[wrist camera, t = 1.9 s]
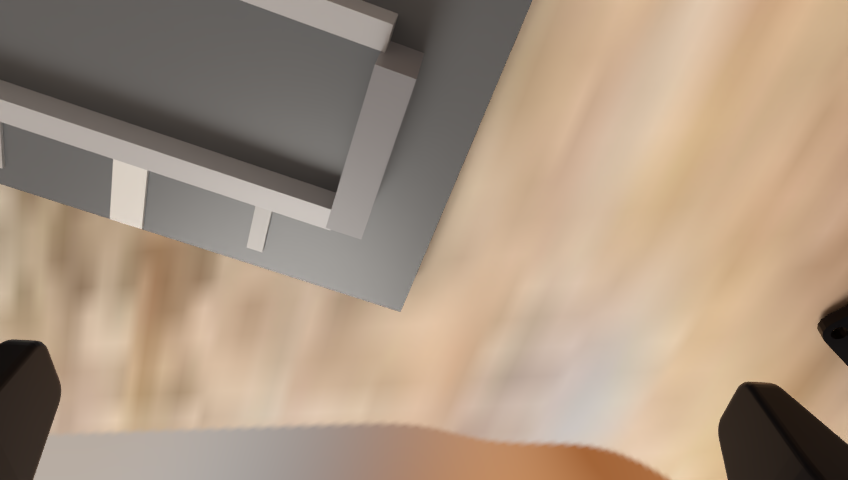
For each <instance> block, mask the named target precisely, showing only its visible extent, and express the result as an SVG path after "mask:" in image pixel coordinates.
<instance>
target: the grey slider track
mask: <svg viewBox="0 0 848 480" xmlns="http://www.w3.org/2000/svg"><path fill="white" fill-rule="evenodd" d="M531 2H532V0H0V184H2V185H6V186H9V187H12V188H15V189H18V190H21V191H24V192H27V193H31V194H34V195H37V196H40V197H43V198H46V199H49V200H52V201H56V202H59V203H62V204H65V205H68V206H71V207H74V208H77V209H81V210H84V211H87V212H90V213H93V214H96V215H99V216H102V217H106V218H109V219H111V220H114V221H118V222H121V223H124V224H127V225H130V226H133V227H136V228H139V229H143V230H146V231H149V232H152V233H155V234H159V235H162V236H165V237H168V238H171V239H174V240H177V241H180V242H184V243H187V244H190V245H193V246H196V247H199V248H202V249H205V250H209V251H212V252H215V253H218V254H221V255H224V256H227V257H230V258H234V259H237V260H240V261H243V262H246V263H249V264H252V265H255V266H259V267H262V268H265V269H268V270H271V271H274V272H277V273H280V274H284V275H287V276H290V277H293V278H296V279H299V280H302V281H305V282H308V283H312V284H315V285H318V286H321V287H324V288H327V289H330V290H333V291H337V292H340V293H343V294H346V295H349V296H352V297H355V298H358V299H362V300H365V301H368V302H371V303H374V304H377V305H380V306H383V307H387V308H390V309H393V310H396V311H399V312H401V309H402V307H403V305H404V302H405V300H406V298H407V295H408V293H409V290H410V288H411V286H412V283H413V281H414V279H415V276H416V274H417V272H418V269H419V267H420V265H421V262H422V260H423V257H424V255H425V253H426V250H427V248H428V246H429V243H430V241H431V239H432V236H433V234H434V231H435V229H436V227H437V224H438V222H439V220H440V217H441V215H442V213H443V210H444V208H445V205H446V203H447V201H448V198H449V196H450V194H451V191H452V189H453V187H454V184H455V182H456V179H457V177H458V175H459V172H460V170H461V168H462V165H463V163H464V161H465V158H466V156H467V153H468V151H469V149H470V146H471V144H472V142H473V139H474V137H475V135H476V132H477V130H478V128H479V125H480V123H481V120H482V118H483V116H484V113H485V111H486V109H487V106H488V104H489V102H490V99H491V97H492V94H493V92H494V90H495V87H496V85H497V83H498V80H499V78H500V76H501V73H502V71H503V68H504V66H505V64H506V61H507V59H508V57H509V54H510V52H511V50H512V47H513V45H514V42H515V40H516V38H517V35H518V33H519V31H520V28H521V26H522V24H523V21H524V19H525V16H526V14H527V12H528V9H529V7H530V5H531Z"/></svg>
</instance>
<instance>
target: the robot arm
mask: <svg viewBox="0 0 848 480" xmlns="http://www.w3.org/2000/svg"><path fill="white" fill-rule="evenodd" d="M839 327H841V328H839ZM836 328H839V329H838V330H834V329H836ZM817 329H818V331H819V333H820V334H821V336H822V338H823V339H824V341H825V342H826V343H827V344H828V345H829V346H830V348H831V349H832V350H833V351H834V352H835V353H836V354H837V355H838V356H839V357H840V358H841V359H842V360H843V361H844V363H845V364H846V365H847V366H848V305H847V306H845V307H843V308H841V309H839V310H837V311H835V312H833V313H831V314H829V315H827V316H826V317H824V318H823V319H821V321H820V322H819V323H818V328H817ZM833 330H834V331H833ZM60 397H61V385H60V381H59V378H58V375H57V373H56V370H55V367H54V365H53V362H52V360H51V357H50V354H49V352H48V349H47V347H46V346H45V345H44V344H43V343H42V342H40V341H32V340H7V341H4V342H2V343H1V344H0V480H33V478H34V475H35V472H36V469H37V467H38V464H39V461H40V458H41V455H42V452H43V449H44V446H45V443H46V440H47V437H48V434H49V431H50V428H51V426H52V423H53V420H54V417H55V414H56V411H57V408H58V405H59V402H60ZM718 435H719V441H720V445H721V450H722V455H723V459H724V464H725V469H726V473H727V478H728V480H848V444H847V443H845V442H844V441H843V440H842V439H841V438H840V437H838V436H837V435H836V434H835V433H834V432H833V431H831V430H830V429H829V428H828V427H827V426H825V425H824V424H823V423H822V422H821V421H820V420H818V419H817V418H816V417H815V416H814V415H812V414H811V413H810V412H809V411H808V410H807V409H805V408H804V407H803V406H802V405H801V404H800V403H798V402H797V401H796V400H795V399H794V398H792V397H791V396H790V395H789V394H788V393H787V392H785V391H784V390H783V389H782V388H780V387H779V386H777V385H775V384H772V383H762V382H744V383H743V384H741V385H740V386H739V387H738V388H737V390H736V392H735V394H734V395H733V397H732V399H731V401H730V403H729V404H728V406H727V408H726V410H725V411H724V413H723V415H722V417H721V419H720V422H719V428H718Z"/></svg>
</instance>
